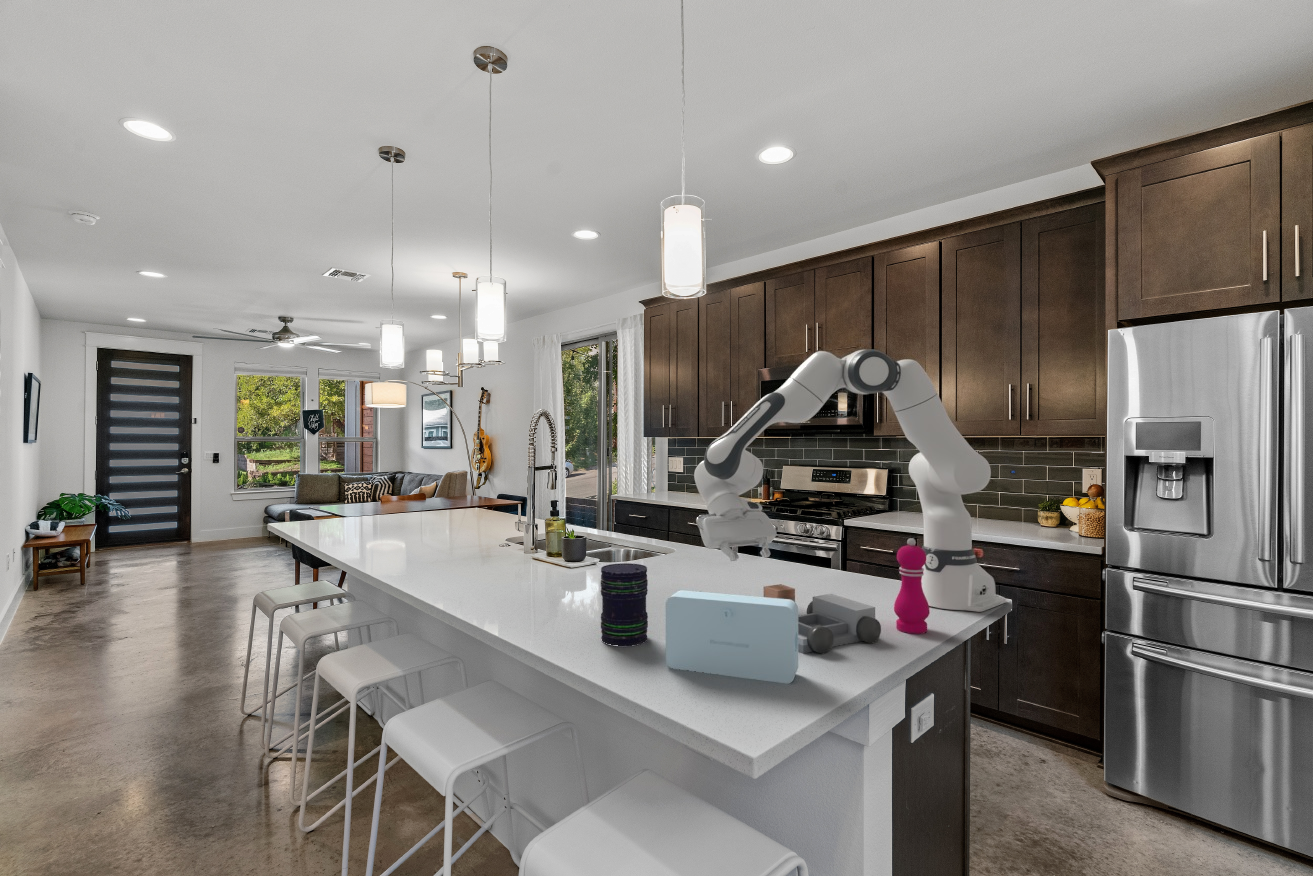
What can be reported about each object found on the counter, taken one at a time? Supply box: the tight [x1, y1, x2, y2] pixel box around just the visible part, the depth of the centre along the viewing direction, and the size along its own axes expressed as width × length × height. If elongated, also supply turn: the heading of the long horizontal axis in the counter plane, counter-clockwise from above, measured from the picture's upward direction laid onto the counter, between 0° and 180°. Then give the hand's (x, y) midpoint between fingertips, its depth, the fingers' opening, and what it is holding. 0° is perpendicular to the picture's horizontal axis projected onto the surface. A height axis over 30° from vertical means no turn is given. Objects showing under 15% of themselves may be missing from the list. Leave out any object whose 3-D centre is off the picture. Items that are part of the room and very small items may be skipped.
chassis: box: [798, 593, 882, 655], centre depth 134 cm, size 20×17×6 cm
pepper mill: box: [893, 537, 930, 635], centre depth 139 cm, size 7×7×20 cm
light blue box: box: [665, 589, 799, 685], centre depth 114 cm, size 23×6×13 cm, turn 70°
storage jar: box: [600, 562, 649, 647], centre depth 133 cm, size 10×10×15 cm
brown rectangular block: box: [763, 583, 796, 603], centre depth 144 cm, size 5×5×8 cm
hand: (751, 557), depth 154 cm, fingers open, 8 cm apart
